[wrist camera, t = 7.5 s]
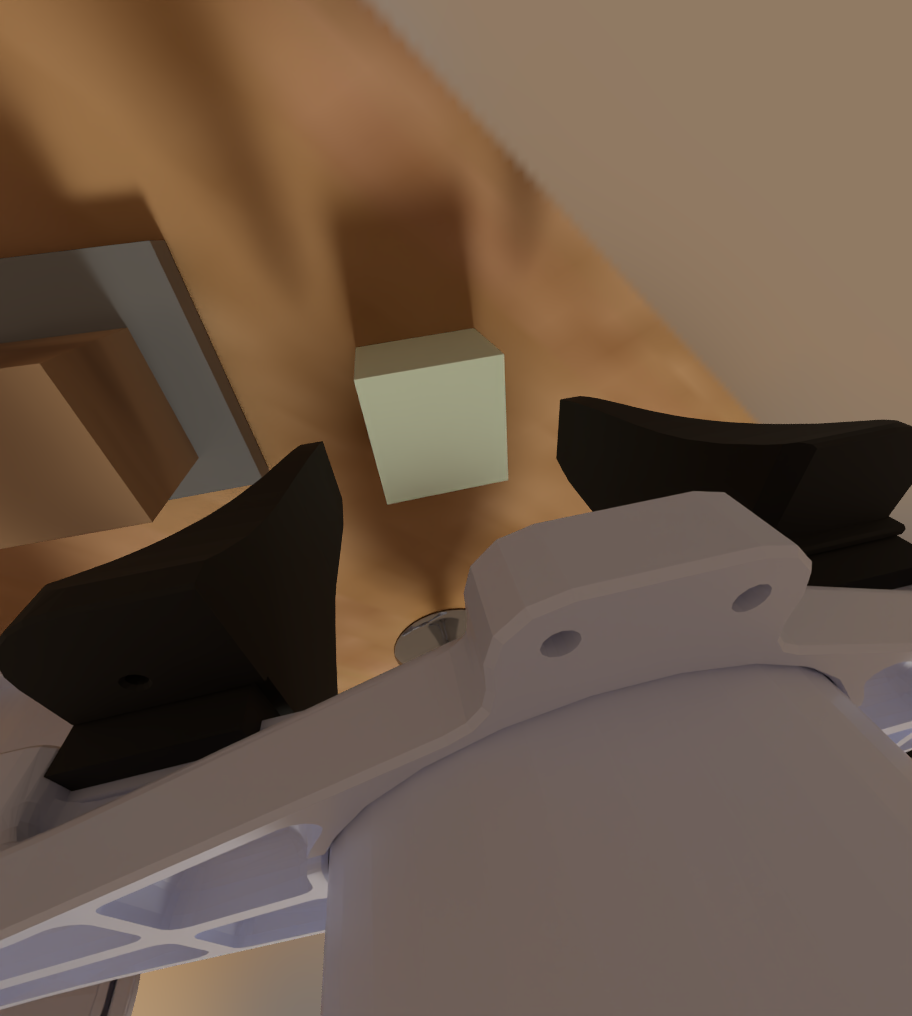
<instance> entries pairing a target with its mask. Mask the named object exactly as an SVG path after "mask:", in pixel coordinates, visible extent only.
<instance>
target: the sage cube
mask: <svg viewBox="0 0 912 1016" xmlns="http://www.w3.org/2000/svg"><path fill="white" fill-rule="evenodd" d="M354 383H355V387H356V390H357V394H358V398H359V401H360V405H361V409H362V413H363V416H364V420H365V424H366V427H367V431H368V435H369V439H370V442H371V446H372V450H373V453H374V457H375V461H376V465H377V468H378V472H379V476H380V479H381V483H382V487H383V491H384V494H385V498H386V502H387V505H388V504H393V503H398V502H403V501H408V500H413V499H418V498H423V497H427V496H432V495H437V494H442V493H447V492H452V491H457V490H462V489H467V488H472V487H477V486H482V485H487V484H492V483H496V482H501V481H506V480H508V459H507V428H506V398H505V368H504V354H503V353H502V352H501V351H500V350H499V349H498V348H496V347H495V346H494V345H493V344H492V343H491V342H490V341H488V340H487V339H486V338H485V337H484V336H483V335H481V334H480V333H479V332H478V331H477V330H476V329H475V328H471V329H465V330H459V331H453V332H447V333H441V334H435V335H429V336H422V337H416V338H410V339H404V340H398V341H392V342H386V343H380V344H374V345H368V346H362V347H356V351H355V367H354Z"/></svg>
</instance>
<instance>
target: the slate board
mask: <svg viewBox="0 0 912 1016" xmlns="http://www.w3.org/2000/svg"><path fill="white" fill-rule="evenodd" d="M120 328H128V329H129V331H130V333H131V335H132V337H133V339H134V340H135V342H136V344H137V346H138V348H139V350H140V351H141V353H142V355H143V357H144V359H145V360H146V362H147V364H148V366H149V368H150V370H151V371H152V373H153V375H154V377H155V379H156V380H157V382H158V384H159V386H160V388H161V390H162V391H163V393H164V395H165V397H166V399H167V401H168V402H169V404H170V406H171V408H172V410H173V411H174V413H175V415H176V417H177V419H178V421H179V422H180V424H181V426H182V428H183V430H184V431H185V433H186V435H187V437H188V439H189V441H190V442H191V444H192V446H193V448H194V450H195V452H196V453H197V455H198V457H199V458H198V460H197V461H196V463H195V464H194V465H193V467H192V468H191V469H190V471H189V472H188V474H187V475H186V476H185V478H184V479H183V481H182V482H181V483H180V485H179V486H178V487H177V489H176V490H175V492H174V493H173V494H172V496H171V497H170V499H169V500H171V499H177V498H182V497H188V496H193V495H198V494H204V493H209V492H215V491H220V490H226V489H231V488H236V487H242V486H247V485H253V484H254V483H255V482H257V481H258V480H259V479H260V478H262V477H263V476H264V475H265V474H267V473H268V471H269V469H268V467H267V465H266V463H265V460H264V458H263V456H262V454H261V452H260V449H259V447H258V445H257V443H256V441H255V438H254V436H253V434H252V432H251V430H250V427H249V425H248V423H247V421H246V419H245V416H244V414H243V412H242V410H241V408H240V405H239V403H238V401H237V399H236V397H235V394H234V392H233V390H232V388H231V386H230V383H229V381H228V379H227V377H226V375H225V372H224V370H223V368H222V366H221V364H220V361H219V359H218V357H217V355H216V353H215V350H214V348H213V346H212V344H211V342H210V339H209V337H208V335H207V333H206V331H205V329H204V326H203V324H202V322H201V320H200V318H199V315H198V313H197V311H196V309H195V307H194V304H193V302H192V300H191V298H190V296H189V293H188V291H187V289H186V287H185V285H184V282H183V280H182V278H181V276H180V274H179V271H178V269H177V267H176V265H175V263H174V260H173V258H172V256H171V254H170V252H169V249H168V247H167V245H166V243H165V241H164V240H152V241H142V242H134V243H125V244H117V245H109V246H100V247H92V248H84V249H76V250H67V251H59V252H51V253H42V254H34V255H26V256H18V257H9V258H1V259H0V343H8V342H16V341H24V340H32V339H40V338H48V337H56V336H64V335H72V334H80V333H88V332H96V331H104V330H112V329H120Z"/></svg>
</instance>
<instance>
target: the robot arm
mask: <svg viewBox="0 0 912 1016" xmlns="http://www.w3.org/2000/svg"><path fill="white" fill-rule="evenodd" d="M556 458H557V460H558V462H559V464H560V466H561V468H562V470H563V472H564V474H565V475H566V477H567V479H568V481H569V482H570V483H571V485H572V486H573V487H574V489H575V490H576V491H577V492H578V494H579V495H580V496H581V498H582V499H583V500H584V501H585V503H586V504H587V505H588V506H589V508H590V509H591V510H592V511H593V512H590V513H585V514H580V515H575V516H570V517H565V518H561V519H556V520H551V521H546V522H541V523H536V524H533V525H530V526H528V527H526V528H523V529H521V530H518V531H516V532H514V533H511V534H509V535H507V536H504V537H502V538H499V539H497V540H496V541H495V542H494V543H493V544H492V545H491V546H490V547H489V548H488V549H487V550H486V551H485V552H484V553H483V554H482V555H481V556H480V557H479V558H478V559H477V560H476V561H475V562H474V563H473V564H472V565H471V566H470V570H469V574H468V578H467V582H466V586H465V591H464V599H465V607H466V614H467V628H466V632H465V634H464V635H463V636H461V637H459V638H457V639H455V640H453V641H451V642H448V643H446V644H444V645H442V646H440V647H438V648H436V649H434V650H431V651H429V652H427V653H425V654H423V655H421V656H419V657H416V658H414V659H412V660H410V661H408V662H406V663H404V664H402V665H399V666H397V667H395V668H393V669H391V670H389V671H387V672H385V673H382V674H380V675H378V676H376V677H374V678H372V679H370V680H368V681H365V682H363V683H361V684H359V685H357V686H355V687H353V688H350V689H348V690H346V691H344V692H342V693H340V694H338V690H337V667H336V631H335V595H336V583H337V574H338V566H339V558H340V550H341V542H342V533H343V504H342V497H341V494H340V491H339V488H338V485H337V482H336V479H335V476H334V473H333V470H332V468H331V465H330V462H329V459H328V456H327V453H326V450H325V447H324V444H323V441H321V442H315V443H310V444H304V445H300V446H299V447H297V448H296V449H294V450H293V451H292V452H291V453H289V454H288V455H287V456H286V457H285V458H284V459H283V460H281V461H280V462H279V463H278V464H277V465H276V466H275V467H273V468H272V469H271V470H270V471H269V472H268V473H267V474H265V475H264V476H263V477H262V478H260V479H259V480H258V481H257V482H255V483H254V484H253V485H252V486H250V487H249V488H248V489H247V490H245V491H244V492H243V493H242V494H240V495H239V496H237V497H236V498H235V499H233V500H232V501H230V502H229V503H227V504H226V505H224V506H223V507H221V508H219V509H218V510H216V511H215V512H213V513H212V514H210V515H208V516H207V517H205V518H203V519H201V520H199V521H197V522H196V523H194V524H192V525H190V526H188V527H186V528H184V529H182V530H181V531H179V532H177V533H175V534H173V535H171V536H169V537H167V538H165V539H163V540H161V541H158V542H156V543H154V544H152V545H150V546H148V547H145V548H143V549H140V550H138V551H136V552H133V553H131V554H129V555H126V556H124V557H121V558H119V559H116V560H114V561H111V562H109V563H106V564H103V565H100V566H98V567H95V568H92V569H89V570H87V571H84V572H81V573H78V574H75V575H73V576H70V577H67V578H64V579H61V580H58V581H55V582H52V583H49V584H47V585H46V586H44V587H43V588H42V589H41V591H40V592H39V593H38V594H37V595H36V596H35V597H34V598H33V599H32V601H31V602H30V603H29V604H28V605H27V606H26V607H25V608H24V610H23V611H22V612H21V613H20V614H19V615H18V616H17V617H16V618H15V620H14V621H13V622H12V623H11V624H10V625H9V626H8V627H7V628H6V630H5V631H4V632H3V633H2V635H1V636H0V1016H131V1014H132V1010H133V1006H134V1002H135V999H136V994H137V990H138V985H139V980H140V974H141V973H145V972H150V971H154V970H158V969H163V968H167V967H171V966H176V965H180V964H185V963H189V962H194V961H198V960H203V959H207V958H212V957H216V956H221V955H225V954H230V953H234V952H239V951H243V950H248V949H252V948H257V947H261V946H266V945H270V944H275V943H279V942H284V941H288V940H293V939H297V938H302V937H306V936H311V935H315V934H320V933H324V932H325V945H324V964H323V982H322V1000H321V1016H912V759H911V758H910V757H909V756H908V755H907V754H906V753H905V752H907V751H910V750H912V544H911V543H909V542H907V541H905V540H904V539H902V538H900V537H899V536H897V535H899V534H902V533H903V532H904V530H905V526H904V524H902V523H900V522H898V521H896V520H894V519H892V518H891V517H889V515H890V513H891V512H892V511H893V509H894V508H895V506H896V505H897V504H898V502H899V501H900V500H901V498H902V497H903V496H904V494H905V493H906V492H907V490H908V489H909V487H910V486H911V485H912V426H910V425H907V424H905V423H902V422H899V421H895V420H870V421H855V422H838V423H824V424H753V423H734V422H721V421H711V420H702V419H694V418H687V417H680V416H674V415H669V414H664V413H659V412H654V411H649V410H645V409H640V408H636V407H632V406H628V405H624V404H620V403H615V402H611V401H607V400H602V399H598V398H592V397H585V396H578V397H572V398H566V399H561V400H560V411H559V427H558V442H557V457H556Z"/></svg>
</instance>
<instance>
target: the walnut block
mask: <svg viewBox="0 0 912 1016" xmlns="http://www.w3.org/2000/svg"><path fill="white" fill-rule="evenodd" d="M198 458H199V457H198V455H197V453H196V452H195V450H194V448H193V446H192V444H191V442H190V441H189V439H188V437H187V435H186V433H185V431H184V430H183V428H182V426H181V424H180V422H179V421H178V419H177V417H176V415H175V413H174V411H173V410H172V408H171V406H170V404H169V402H168V401H167V399H166V397H165V395H164V393H163V391H162V390H161V388H160V386H159V384H158V382H157V380H156V379H155V377H154V375H153V373H152V371H151V370H150V368H149V366H148V364H147V362H146V360H145V359H144V357H143V355H142V353H141V351H140V350H139V348H138V346H137V344H136V342H135V340H134V339H133V337H132V335H131V333H130V331H129V329H128V328H120V329H112V330H104V331H96V332H88V333H80V334H72V335H64V336H56V337H48V338H40V339H32V340H24V341H16V342H8V343H0V549H4V548H9V547H15V546H21V545H26V544H32V543H38V542H43V541H49V540H55V539H60V538H66V537H72V536H77V535H83V534H88V533H94V532H100V531H105V530H111V529H117V528H122V527H128V526H134V525H139V524H145V523H151V522H153V521H154V519H155V518H156V517H157V515H158V514H159V512H160V511H161V510H162V508H163V507H164V505H165V504H166V503H167V501H168V500H169V499H170V497H171V496H172V494H173V493H174V492H175V490H176V489H177V487H178V486H179V485H180V483H181V482H182V481H183V479H184V478H185V476H186V475H187V474H188V472H189V471H190V469H191V468H192V467H193V465H194V464H195V463H196V461H197V460H198Z"/></svg>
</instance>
